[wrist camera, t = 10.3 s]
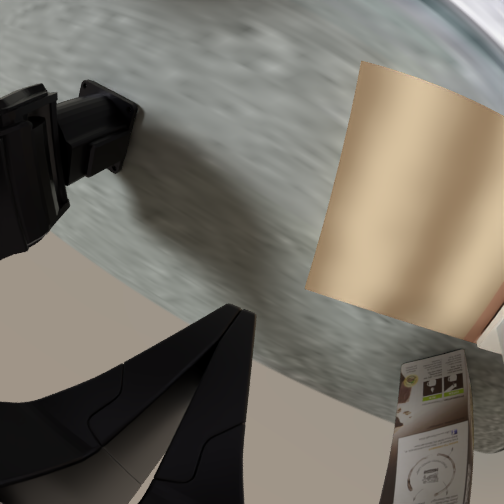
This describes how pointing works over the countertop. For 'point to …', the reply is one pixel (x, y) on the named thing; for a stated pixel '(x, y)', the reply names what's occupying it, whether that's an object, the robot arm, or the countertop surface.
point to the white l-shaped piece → (494, 335)
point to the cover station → (416, 207)
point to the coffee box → (432, 434)
